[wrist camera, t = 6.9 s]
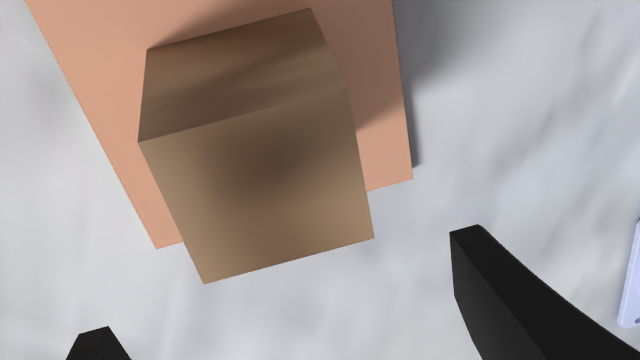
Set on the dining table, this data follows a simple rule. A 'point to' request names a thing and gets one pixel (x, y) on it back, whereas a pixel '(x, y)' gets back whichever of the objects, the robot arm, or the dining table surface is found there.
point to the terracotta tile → (200, 19)
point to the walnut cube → (254, 145)
